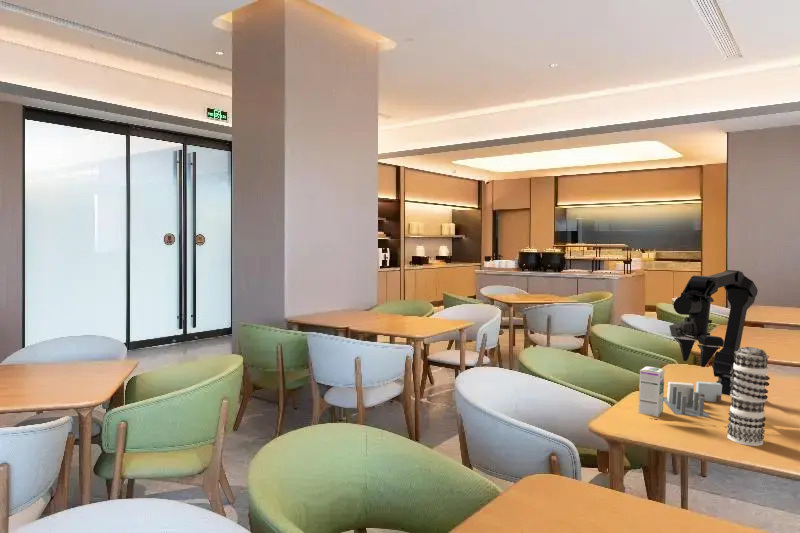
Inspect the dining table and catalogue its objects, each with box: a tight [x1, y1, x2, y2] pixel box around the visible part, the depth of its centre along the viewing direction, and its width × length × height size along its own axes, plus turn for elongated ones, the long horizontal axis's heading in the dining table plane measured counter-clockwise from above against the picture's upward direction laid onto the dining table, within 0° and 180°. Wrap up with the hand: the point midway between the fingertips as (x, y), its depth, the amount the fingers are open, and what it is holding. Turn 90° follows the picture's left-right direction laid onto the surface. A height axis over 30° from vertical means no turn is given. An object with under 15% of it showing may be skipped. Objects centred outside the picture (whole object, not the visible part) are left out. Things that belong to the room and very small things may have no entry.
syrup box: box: [637, 366, 665, 421], centre depth 171 cm, size 6×6×14 cm
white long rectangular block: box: [695, 380, 723, 403], centre depth 186 cm, size 7×2×6 cm, turn 79°
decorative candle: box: [726, 346, 771, 447], centre depth 153 cm, size 9×9×25 cm
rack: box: [663, 386, 711, 418], centre depth 178 cm, size 10×18×7 cm, turn 169°
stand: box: [700, 394, 722, 404], centre depth 186 cm, size 8×6×3 cm
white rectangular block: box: [666, 381, 695, 403], centre depth 183 cm, size 7×2×6 cm, turn 79°
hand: (693, 363), depth 181 cm, fingers open, 9 cm apart
